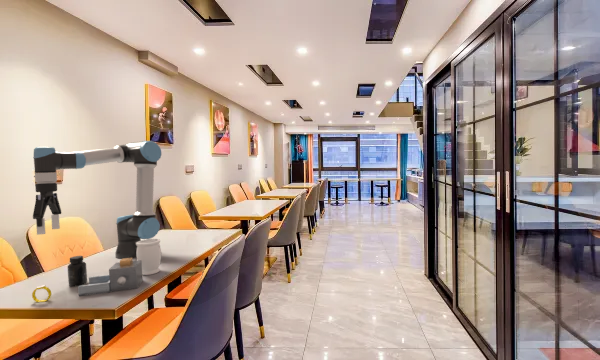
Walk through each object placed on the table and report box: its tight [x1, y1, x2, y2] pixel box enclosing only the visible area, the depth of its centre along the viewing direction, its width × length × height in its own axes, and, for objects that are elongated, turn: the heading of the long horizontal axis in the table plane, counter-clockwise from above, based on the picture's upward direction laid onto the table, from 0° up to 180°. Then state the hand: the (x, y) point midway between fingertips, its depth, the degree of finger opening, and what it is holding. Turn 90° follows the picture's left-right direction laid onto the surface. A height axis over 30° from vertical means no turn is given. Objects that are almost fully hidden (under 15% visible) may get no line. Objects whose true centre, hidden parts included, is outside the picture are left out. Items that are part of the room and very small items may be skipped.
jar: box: [136, 238, 162, 276], centre depth 157 cm, size 11×10×15 cm
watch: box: [31, 284, 52, 303], centre depth 127 cm, size 6×3×6 cm, turn 98°
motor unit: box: [77, 257, 144, 297], centre depth 138 cm, size 14×21×11 cm, turn 104°
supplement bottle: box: [67, 255, 88, 288], centre depth 145 cm, size 7×7×12 cm
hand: (48, 231), depth 145 cm, fingers open, 13 cm apart
